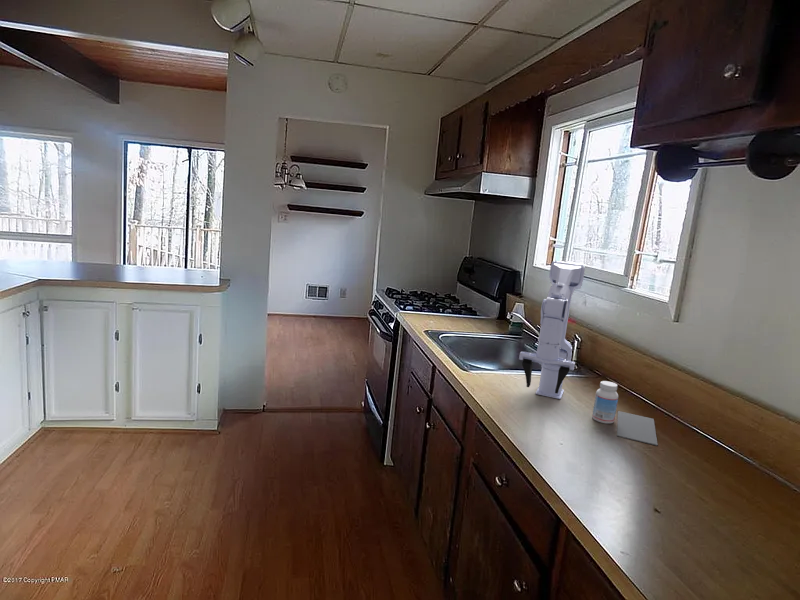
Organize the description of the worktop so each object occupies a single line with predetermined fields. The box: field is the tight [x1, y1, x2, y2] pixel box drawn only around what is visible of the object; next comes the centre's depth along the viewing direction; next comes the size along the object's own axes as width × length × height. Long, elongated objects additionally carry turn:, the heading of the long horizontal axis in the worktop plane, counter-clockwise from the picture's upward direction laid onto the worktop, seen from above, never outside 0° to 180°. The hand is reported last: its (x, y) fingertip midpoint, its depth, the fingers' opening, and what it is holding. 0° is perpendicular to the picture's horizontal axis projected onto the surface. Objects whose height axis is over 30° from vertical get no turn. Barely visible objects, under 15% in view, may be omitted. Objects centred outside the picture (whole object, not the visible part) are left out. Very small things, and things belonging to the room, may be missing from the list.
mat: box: [616, 410, 659, 447], centre depth 147 cm, size 20×10×1 cm, turn 157°
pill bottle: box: [591, 380, 619, 424], centre depth 149 cm, size 6×6×11 cm
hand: (542, 389), depth 141 cm, fingers open, 7 cm apart
